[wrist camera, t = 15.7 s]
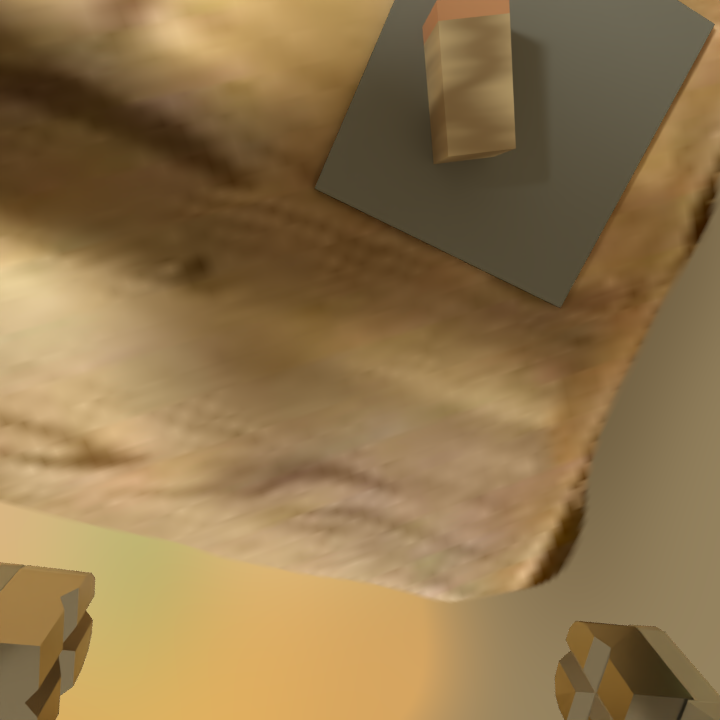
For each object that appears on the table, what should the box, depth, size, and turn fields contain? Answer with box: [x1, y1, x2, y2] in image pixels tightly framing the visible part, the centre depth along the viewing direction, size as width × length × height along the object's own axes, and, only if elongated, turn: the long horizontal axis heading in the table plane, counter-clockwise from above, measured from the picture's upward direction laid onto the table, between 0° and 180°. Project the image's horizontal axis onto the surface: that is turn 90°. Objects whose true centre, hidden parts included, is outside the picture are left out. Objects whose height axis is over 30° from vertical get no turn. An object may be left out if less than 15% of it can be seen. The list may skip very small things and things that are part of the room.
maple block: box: [422, 0, 516, 164], centre depth 32 cm, size 4×4×8 cm
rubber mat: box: [315, 0, 715, 308], centre depth 34 cm, size 19×20×1 cm
